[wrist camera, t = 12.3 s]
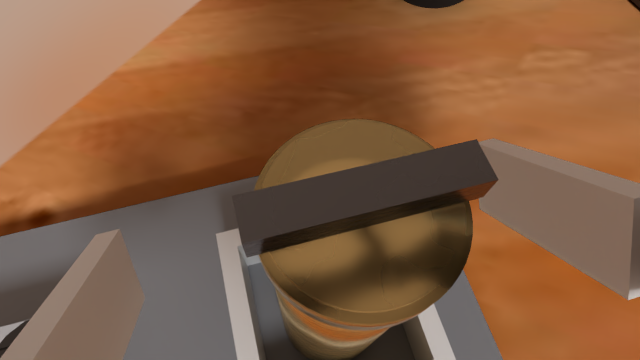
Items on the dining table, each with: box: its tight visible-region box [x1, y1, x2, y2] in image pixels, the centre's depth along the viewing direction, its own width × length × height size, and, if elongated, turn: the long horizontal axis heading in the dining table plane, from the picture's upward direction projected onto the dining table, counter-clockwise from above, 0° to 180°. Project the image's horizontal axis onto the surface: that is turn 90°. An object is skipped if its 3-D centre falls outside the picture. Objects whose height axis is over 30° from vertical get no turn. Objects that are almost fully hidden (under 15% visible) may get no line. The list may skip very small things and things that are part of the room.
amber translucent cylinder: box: [232, 119, 499, 360], centre depth 14 cm, size 5×5×13 cm
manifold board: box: [0, 176, 503, 360], centre depth 18 cm, size 24×16×5 cm, turn 106°
